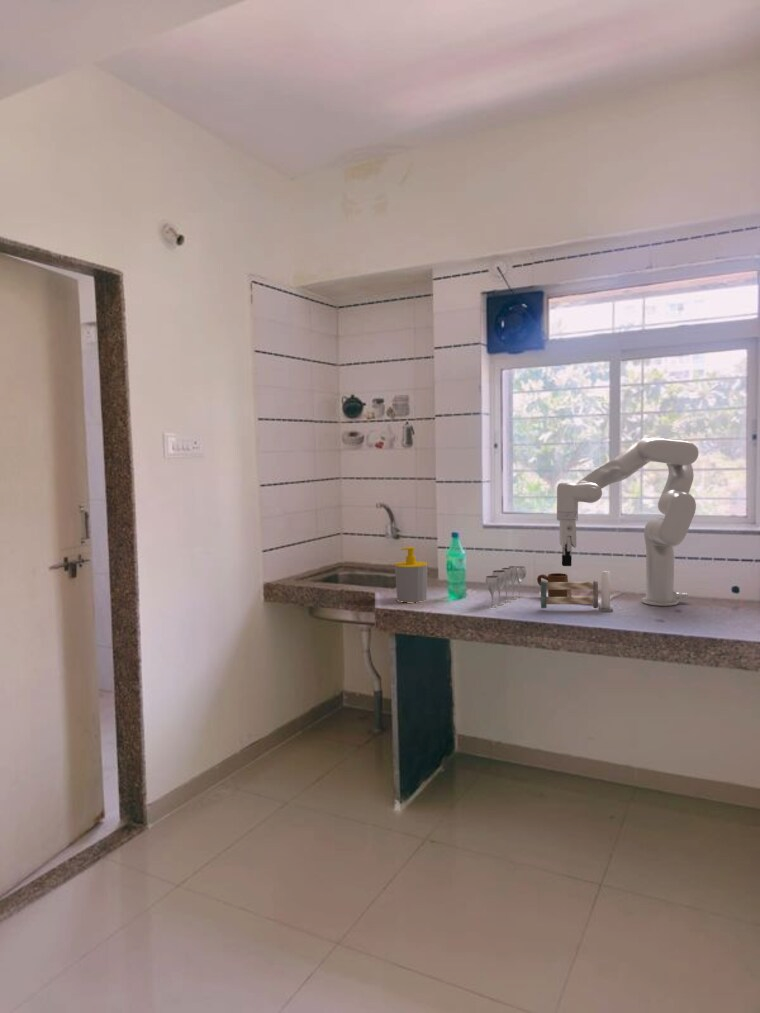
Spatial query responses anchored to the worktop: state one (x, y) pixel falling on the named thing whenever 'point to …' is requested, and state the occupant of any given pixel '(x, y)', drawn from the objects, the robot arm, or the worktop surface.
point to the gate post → (605, 592)
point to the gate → (569, 593)
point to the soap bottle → (411, 578)
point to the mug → (555, 578)
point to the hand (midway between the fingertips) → (566, 565)
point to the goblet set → (505, 581)
